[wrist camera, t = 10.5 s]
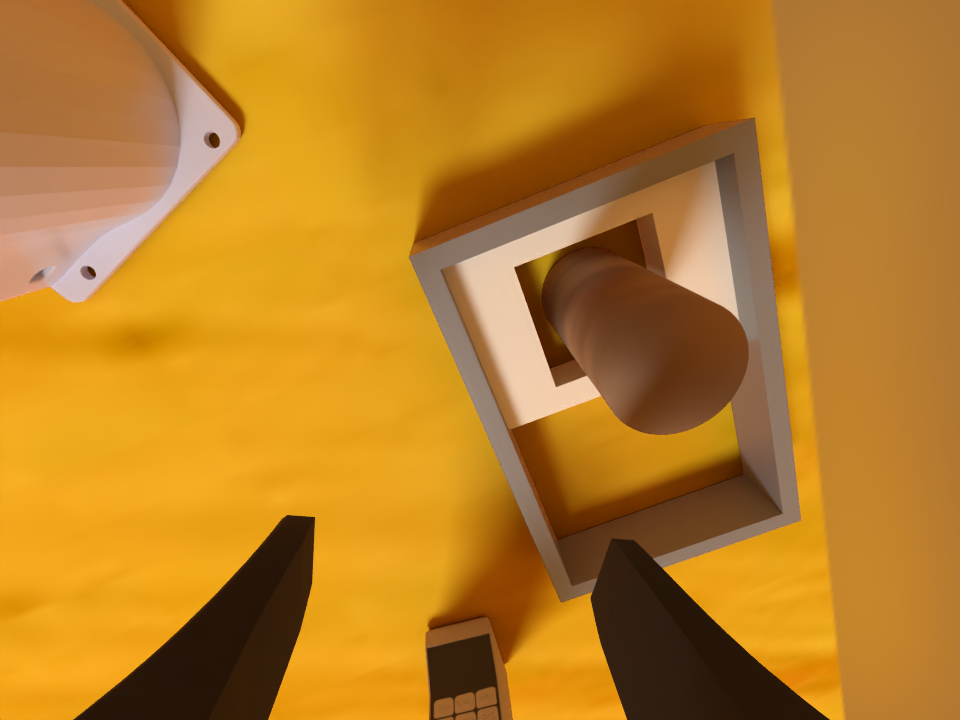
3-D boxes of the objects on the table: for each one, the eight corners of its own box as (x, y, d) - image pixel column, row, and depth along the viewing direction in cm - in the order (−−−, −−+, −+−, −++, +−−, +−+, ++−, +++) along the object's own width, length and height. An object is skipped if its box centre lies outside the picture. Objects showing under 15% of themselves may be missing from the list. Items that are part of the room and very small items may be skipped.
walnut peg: (592, 354, 21) (675, 457, 14) (522, 306, 20) (572, 390, 12) (652, 282, 20) (778, 351, 12) (582, 227, 19) (676, 267, 11)
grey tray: (760, 480, 25) (801, 520, 22) (547, 555, 25) (561, 602, 23) (704, 125, 18) (754, 117, 15) (413, 243, 18) (408, 256, 16)
